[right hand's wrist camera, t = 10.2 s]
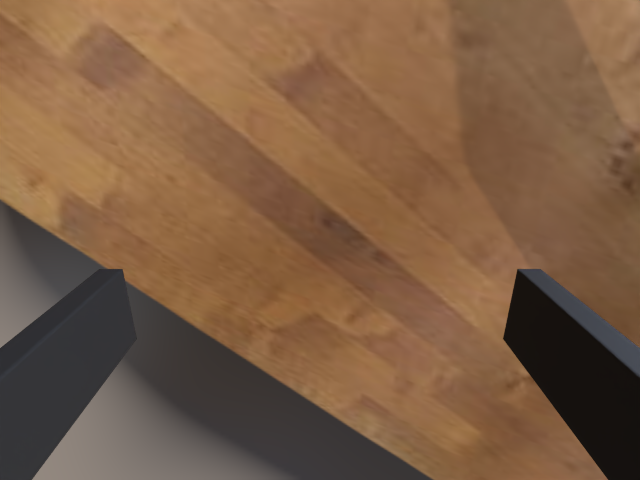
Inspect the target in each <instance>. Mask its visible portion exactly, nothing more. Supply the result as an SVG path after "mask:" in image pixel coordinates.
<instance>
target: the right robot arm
mask: <svg viewBox="0 0 640 480" xmlns="http://www.w3.org/2000/svg"><path fill="white" fill-rule="evenodd" d="M136 339H137V338H136V333H135V328H134V323H133V318H132V313H131V308H130V304H129V299H128V294H127V289H126V284H125V279H124V274H123V269H99V270H98V271H97V272H95V273H94V274H93V275H91V276H90V277H89V278H88V279H86V280H85V281H84V282H83V283H81V284H80V285H79V286H78V287H76V288H75V289H74V290H73V291H71V292H70V293H69V294H68V295H66V296H65V297H64V298H63V299H61V300H60V301H59V302H58V303H56V304H55V305H54V306H53V307H51V308H50V309H49V310H48V311H46V312H45V313H44V314H43V315H41V316H40V317H39V318H38V319H36V320H35V321H34V322H33V323H31V324H30V325H29V326H27V327H26V328H25V329H24V330H22V331H21V332H20V333H19V334H17V335H16V336H15V337H14V338H13V339H11V340H10V341H9V342H7V343H6V344H5V345H4V346H2V347H1V348H0V480H32V479H33V477H34V476H35V475H36V473H37V472H38V471H39V469H40V468H41V467H42V465H43V464H44V463H45V461H46V460H47V459H48V457H49V456H50V455H51V453H52V452H53V451H54V449H55V448H56V446H57V445H58V444H59V442H60V441H61V440H62V438H63V437H64V436H65V434H66V433H67V432H68V430H69V429H70V428H71V426H72V425H73V424H74V422H75V421H76V420H77V418H78V417H79V416H80V414H81V413H82V412H83V410H84V409H85V408H86V406H87V405H88V404H89V402H90V401H91V400H92V398H93V397H94V396H95V394H96V393H97V392H98V390H99V389H100V388H101V386H102V385H103V383H104V382H105V381H106V379H107V378H108V377H109V375H110V374H111V373H112V371H113V370H114V369H115V367H116V366H117V365H118V363H119V362H120V361H121V359H122V358H123V357H124V355H125V354H126V353H127V351H128V350H129V349H130V347H131V346H132V345H133V343H134V342H135V341H136ZM503 339H504V341H505V342H506V343H507V345H508V346H509V347H510V349H511V350H512V351H513V353H514V354H515V355H516V357H517V358H518V359H519V361H520V362H521V363H522V365H523V366H524V367H525V369H526V370H527V371H528V373H529V374H530V375H531V377H532V378H533V379H534V381H535V382H536V383H537V385H538V386H539V388H540V389H541V390H542V392H543V393H544V394H545V396H546V397H547V398H548V400H549V401H550V402H551V404H552V405H553V406H554V408H555V409H556V410H557V412H558V413H559V414H560V416H561V417H562V418H563V420H564V421H565V422H566V424H567V425H568V426H569V428H570V429H571V430H572V432H573V433H574V434H575V436H576V437H577V438H578V440H579V441H580V442H581V444H582V445H583V446H584V448H585V449H586V451H587V452H588V453H589V455H590V456H591V457H592V459H593V460H594V461H595V463H596V464H597V465H598V467H599V468H600V469H601V471H602V472H603V473H604V475H605V476H606V477H607V479H608V480H640V348H639V347H638V346H636V345H635V344H634V343H633V342H631V341H630V340H629V339H628V338H626V337H625V336H624V335H623V334H621V333H620V332H619V331H618V330H616V329H615V328H614V327H613V326H611V325H610V324H609V323H608V322H606V321H605V320H604V319H602V318H601V317H600V316H599V315H597V314H596V313H595V312H594V311H592V310H591V309H590V308H589V307H587V306H586V305H585V304H584V303H582V302H581V301H580V300H579V299H577V298H576V297H575V296H574V295H572V294H571V293H570V292H569V291H567V290H566V289H565V288H564V287H562V286H561V285H560V284H559V283H557V282H556V281H555V280H554V279H552V278H551V277H550V276H549V275H547V274H546V273H545V272H544V271H542V270H541V269H517V274H516V279H515V284H514V289H513V294H512V299H511V303H510V308H509V313H508V318H507V323H506V328H505V333H504V337H503Z"/></svg>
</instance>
